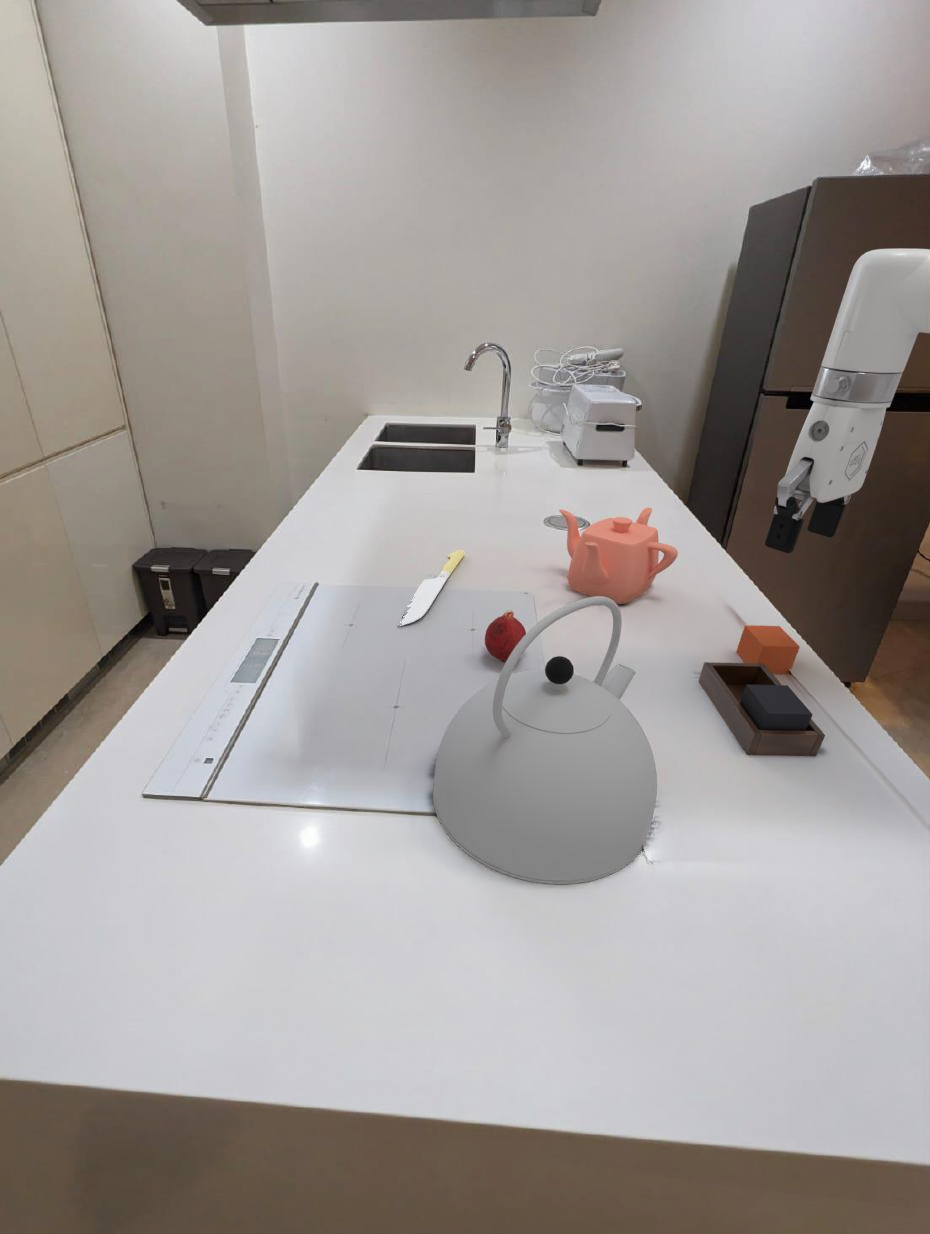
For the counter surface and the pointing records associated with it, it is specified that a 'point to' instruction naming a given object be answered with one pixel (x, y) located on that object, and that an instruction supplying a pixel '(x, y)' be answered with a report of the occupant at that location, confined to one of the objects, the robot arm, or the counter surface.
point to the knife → (430, 590)
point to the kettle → (549, 769)
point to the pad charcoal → (775, 708)
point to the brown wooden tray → (726, 694)
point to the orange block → (768, 648)
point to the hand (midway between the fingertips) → (799, 541)
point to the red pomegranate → (503, 636)
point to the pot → (615, 557)
